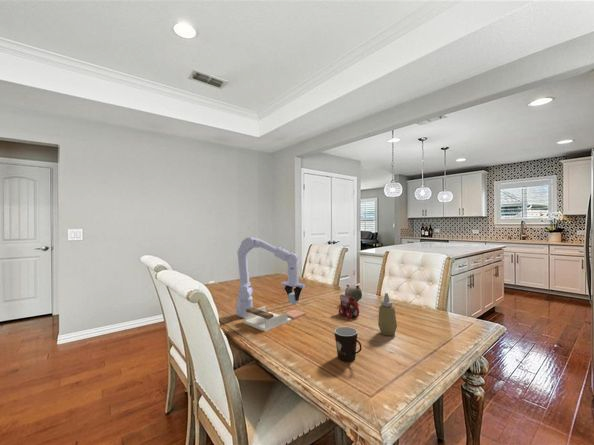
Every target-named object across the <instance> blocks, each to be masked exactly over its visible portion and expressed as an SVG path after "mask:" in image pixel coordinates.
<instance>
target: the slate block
mask: <svg viewBox="0 0 594 445" xmlns="http://www.w3.org/2000/svg"><path fill="white" fill-rule="evenodd" d="M287 298H288V299H287V300H288V304H291V305H296V304H298V303H300V302H299V301H300V300H298V301H296V300H295V292H294V291H292V293H290V294H288V295H287Z"/></svg>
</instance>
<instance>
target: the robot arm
mask: <svg viewBox="0 0 594 445" xmlns="http://www.w3.org/2000/svg"><path fill="white" fill-rule="evenodd" d="M254 248H255V249H256V248H261V249H264V250H266V251H268V252H270V253H273V255H274V257H275V258H278V259H280V260H282V261H285V262H286V263H287V281H282V282H281V286H282V287H283V288H284V290H285V292H286V294H287V296H288V294H290V293H292V292H293V293H295V300H296V301H298V300H299V299H300V295H301V292H302V290H303V289H306V284H305V283H300V282H299V267H298V265H299V264H298V259H299V258H298V255H297V254H296V253H295V252H292V251H291V250H290V251H288V250H287V249H285V248H284V247H283V246H281V247H280V246H279V247H278V246H277V247H276V246H274V245H272V244H270V243H268V242H266V241H264V240H262V239H261V238H258V237H255V236H250V237H246V238H244V239H243V240H242V241H241V243H240V245H239V247H238V250H237V262H238V271H239V272H238V273H239V282H240V283H239V287H238V293H237V297H238V299H237V300H236V303H235V308H236V310H235V311H236V313H235V314H234V315H235V316H237V317H240V318H242V319H244V313H245V312H246V309H248V308H251V307H252V308H254V306H253V296H252V295H253V294H254V288H253V287H252V284H251V282H250V274H249V261H248V253H249V252H250V251H251V250H253V249H254ZM284 286H285V287H284ZM299 301H300V300H299Z"/></svg>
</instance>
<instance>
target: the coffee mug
mask: <svg viewBox="0 0 594 445" xmlns="http://www.w3.org/2000/svg"><path fill="white" fill-rule="evenodd" d="M333 332H334V333H333V334H334V340H335V346H336V347H335V348H336V351H337V352H336V354H337V359H338V360H339V361H341V362H342V363H351V362H352V363H353V362H354V361H355V360H356V355H357V354H359V353H360V352H361V351H362V348H363V347H362V343H361V342H360V341H359V340H358V330H357V329H356V328H354V327H351V326H340V327H339V326H338V327H336V328H335V329H334V331H333ZM357 343H358V345H359V349H358V351H357Z"/></svg>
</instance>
